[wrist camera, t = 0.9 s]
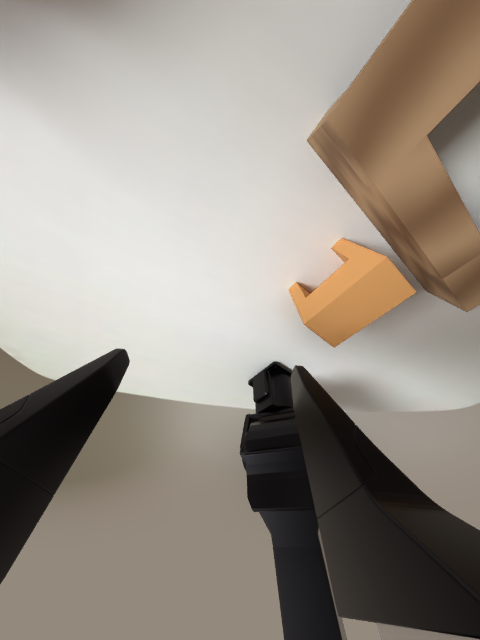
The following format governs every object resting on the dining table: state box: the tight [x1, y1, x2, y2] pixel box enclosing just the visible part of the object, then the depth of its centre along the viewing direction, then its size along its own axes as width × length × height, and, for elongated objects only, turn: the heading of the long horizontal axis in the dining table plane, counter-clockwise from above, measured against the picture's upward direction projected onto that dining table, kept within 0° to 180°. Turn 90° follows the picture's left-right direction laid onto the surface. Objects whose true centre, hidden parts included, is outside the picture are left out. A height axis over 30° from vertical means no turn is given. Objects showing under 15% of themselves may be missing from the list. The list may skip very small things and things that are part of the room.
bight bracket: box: [288, 238, 416, 347], centre depth 17 cm, size 4×7×7 cm, turn 142°
